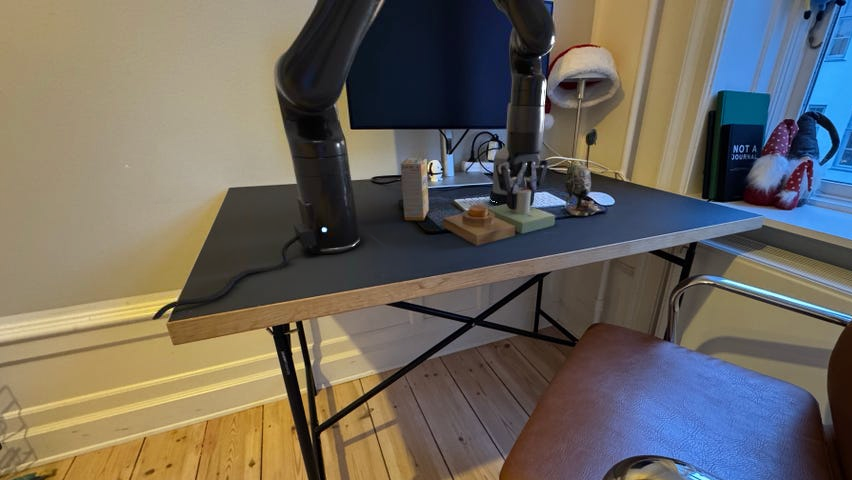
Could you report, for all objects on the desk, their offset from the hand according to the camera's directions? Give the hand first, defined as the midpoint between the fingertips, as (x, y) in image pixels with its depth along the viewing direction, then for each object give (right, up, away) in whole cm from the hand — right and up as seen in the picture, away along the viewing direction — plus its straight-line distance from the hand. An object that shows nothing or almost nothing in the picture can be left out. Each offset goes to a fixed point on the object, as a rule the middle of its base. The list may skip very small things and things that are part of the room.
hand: (520, 206), depth 85 cm
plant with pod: (+16, 0, +9) cm, 19 cm away
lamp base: (-10, -6, -5) cm, 13 cm away
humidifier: (-3, +4, +15) cm, 16 cm away
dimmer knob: (0, -1, 0) cm, 1 cm away
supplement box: (-25, -2, +4) cm, 25 cm away
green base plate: (0, -3, +2) cm, 4 cm away
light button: (-10, -3, -6) cm, 12 cm away
